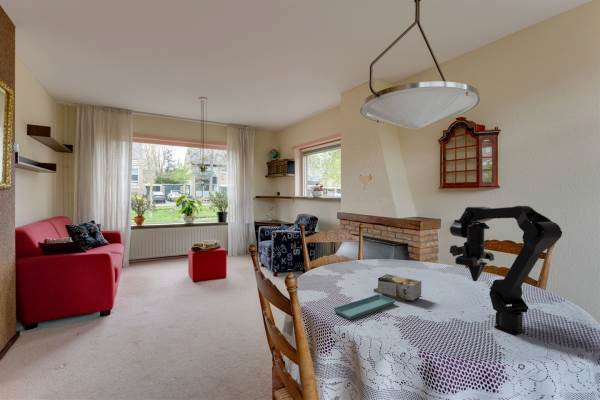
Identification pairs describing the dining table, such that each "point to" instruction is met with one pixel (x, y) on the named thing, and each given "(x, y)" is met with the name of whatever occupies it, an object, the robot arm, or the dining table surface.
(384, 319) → the dining table surface
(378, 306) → the rectangular tray
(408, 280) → the coffee box
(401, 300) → the walnut board
